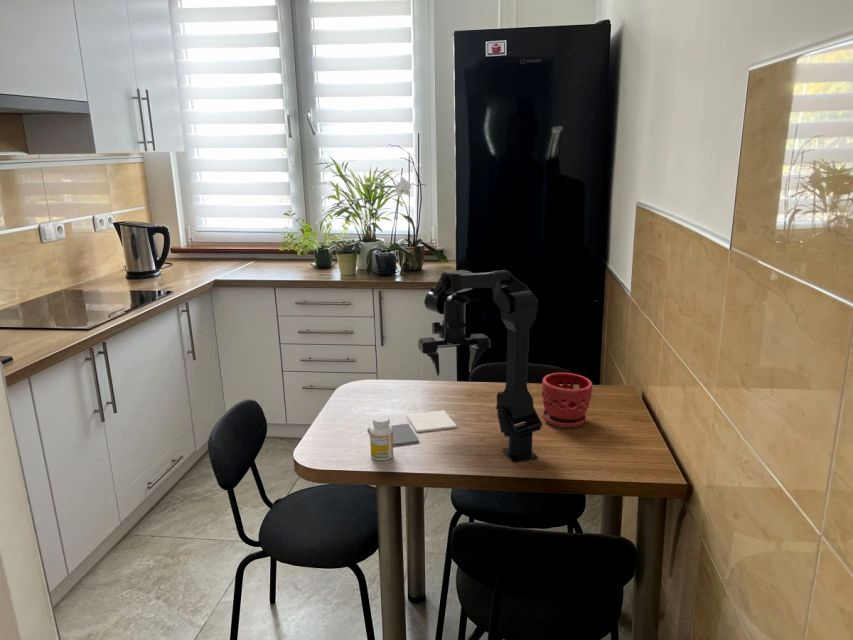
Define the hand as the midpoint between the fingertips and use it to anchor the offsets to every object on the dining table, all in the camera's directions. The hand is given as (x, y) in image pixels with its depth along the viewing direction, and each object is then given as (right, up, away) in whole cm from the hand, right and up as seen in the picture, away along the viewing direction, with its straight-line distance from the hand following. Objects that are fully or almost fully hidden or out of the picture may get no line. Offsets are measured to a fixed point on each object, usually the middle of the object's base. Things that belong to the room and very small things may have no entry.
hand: (454, 373), depth 173 cm
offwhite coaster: (-6, -13, +1) cm, 15 cm away
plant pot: (+30, -13, +1) cm, 33 cm away
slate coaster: (-16, -15, -8) cm, 24 cm away
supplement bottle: (-18, -18, -19) cm, 32 cm away
